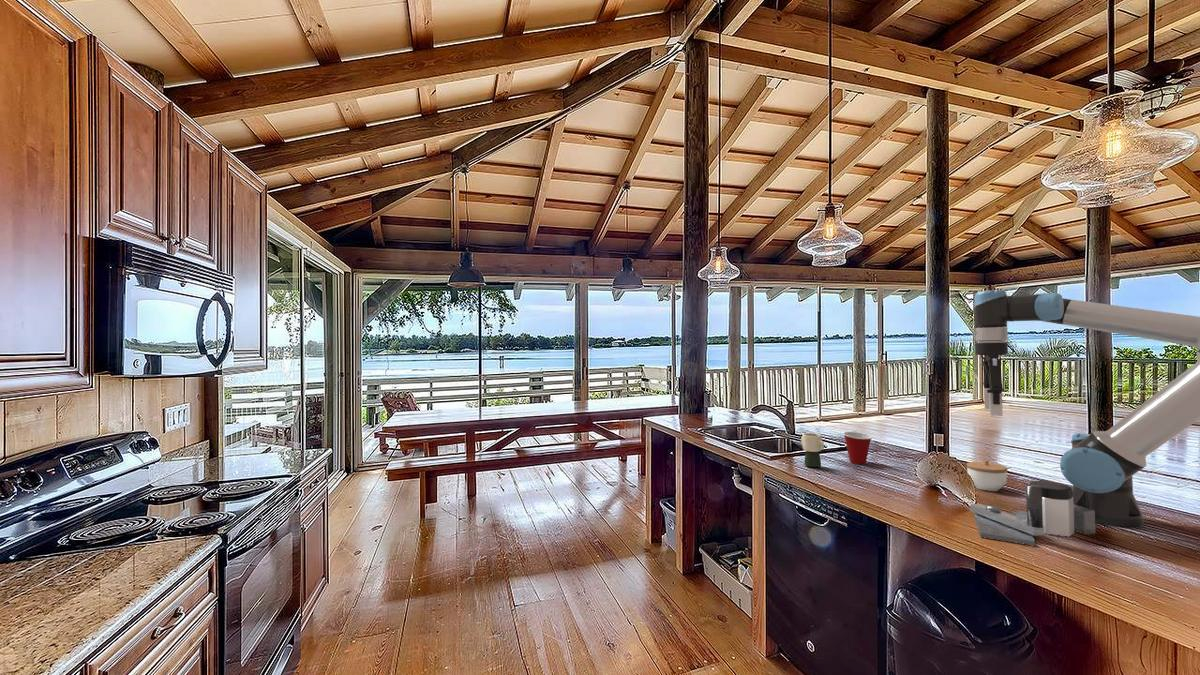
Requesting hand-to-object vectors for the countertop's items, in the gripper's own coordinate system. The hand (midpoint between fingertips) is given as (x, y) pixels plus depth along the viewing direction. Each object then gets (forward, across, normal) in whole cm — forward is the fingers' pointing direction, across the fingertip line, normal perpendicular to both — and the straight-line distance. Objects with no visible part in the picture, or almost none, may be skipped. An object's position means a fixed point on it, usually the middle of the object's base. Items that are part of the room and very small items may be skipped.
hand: (993, 412), depth 143 cm
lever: (+27, +17, +1) cm, 32 cm away
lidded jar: (+29, -22, 0) cm, 36 cm away
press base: (+29, +18, -1) cm, 34 cm away
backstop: (+29, +9, +15) cm, 34 cm away
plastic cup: (+29, -38, -40) cm, 62 cm away
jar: (+29, +14, +10) cm, 33 cm away
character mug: (+29, -23, -55) cm, 66 cm away
